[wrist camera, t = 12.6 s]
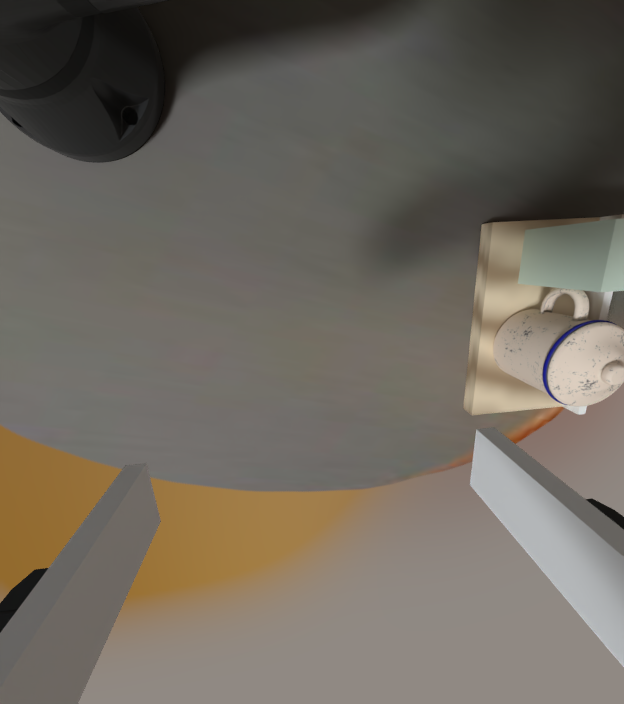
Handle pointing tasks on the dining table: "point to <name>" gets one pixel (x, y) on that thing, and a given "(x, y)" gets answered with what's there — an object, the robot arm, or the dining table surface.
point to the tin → (575, 256)
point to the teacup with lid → (563, 351)
